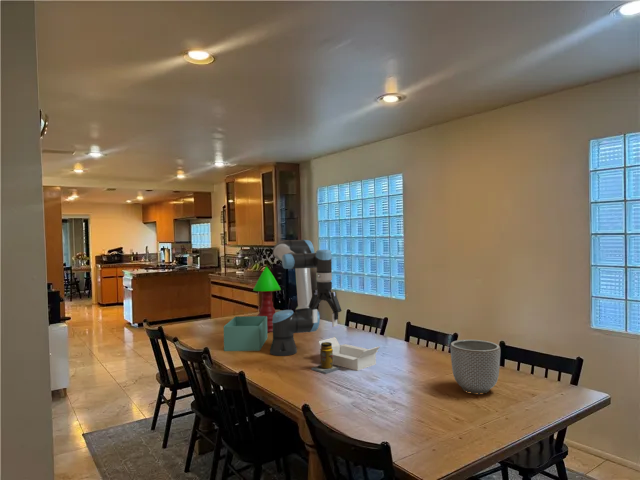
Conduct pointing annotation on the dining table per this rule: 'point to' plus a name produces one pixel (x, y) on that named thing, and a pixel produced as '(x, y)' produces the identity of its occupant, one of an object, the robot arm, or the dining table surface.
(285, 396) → the dining table surface
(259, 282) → the table lamp
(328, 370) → the coaster
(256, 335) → the box
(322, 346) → the condiment
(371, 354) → the carton
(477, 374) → the planter
